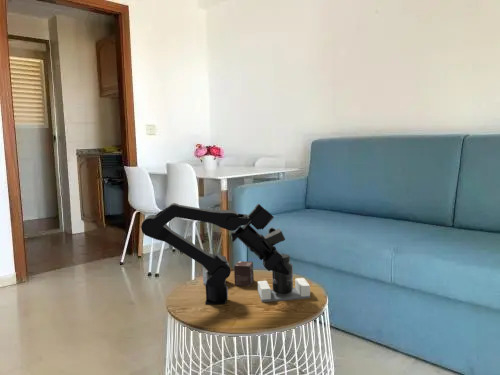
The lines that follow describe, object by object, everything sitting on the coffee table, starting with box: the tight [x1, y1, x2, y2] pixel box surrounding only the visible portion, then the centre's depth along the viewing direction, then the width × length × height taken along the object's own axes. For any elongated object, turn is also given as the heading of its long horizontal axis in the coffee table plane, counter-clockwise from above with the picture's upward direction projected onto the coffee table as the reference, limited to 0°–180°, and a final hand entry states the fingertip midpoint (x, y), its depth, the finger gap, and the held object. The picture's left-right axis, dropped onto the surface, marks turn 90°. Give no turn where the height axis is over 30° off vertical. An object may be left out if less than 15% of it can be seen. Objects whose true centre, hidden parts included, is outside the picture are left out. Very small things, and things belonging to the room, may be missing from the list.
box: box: [233, 260, 255, 287], centre depth 154 cm, size 6×6×7 cm
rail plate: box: [257, 277, 311, 303], centre depth 140 cm, size 16×9×4 cm, turn 97°
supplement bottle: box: [271, 253, 294, 294], centre depth 139 cm, size 7×7×12 cm
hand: (286, 270), depth 139 cm, fingers closed on supplement bottle, 7 cm apart
